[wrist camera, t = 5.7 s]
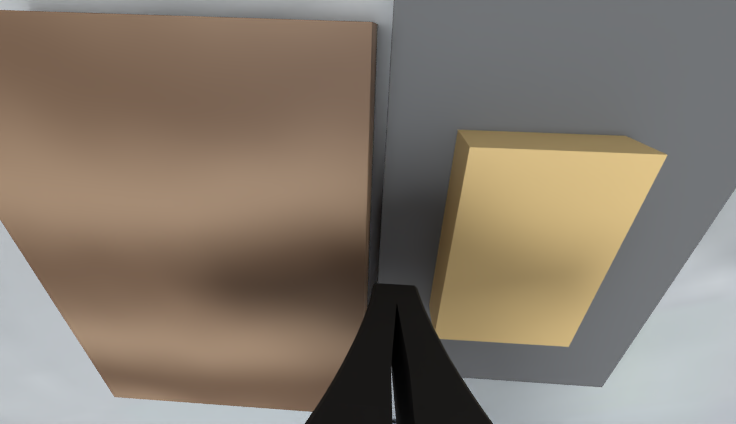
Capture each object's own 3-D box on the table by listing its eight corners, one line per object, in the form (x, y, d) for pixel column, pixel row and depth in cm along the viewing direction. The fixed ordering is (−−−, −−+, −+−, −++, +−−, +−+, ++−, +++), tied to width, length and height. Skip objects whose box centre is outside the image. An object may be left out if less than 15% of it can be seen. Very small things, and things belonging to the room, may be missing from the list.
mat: (598, 380, 19) (601, 387, 19) (373, 365, 20) (372, 371, 19) (872, -42, 9) (891, -45, 9) (397, -53, 10) (397, -57, 9)
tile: (433, 338, 14) (429, 305, 16) (568, 346, 14) (549, 312, 16) (469, 146, 10) (457, 129, 12) (667, 154, 10) (625, 135, 11)
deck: (365, 342, 19) (360, 415, 15) (164, 329, 19) (114, 396, 15) (377, 24, 11) (372, 21, 7) (28, 13, 11) (-138, 5, 7)
